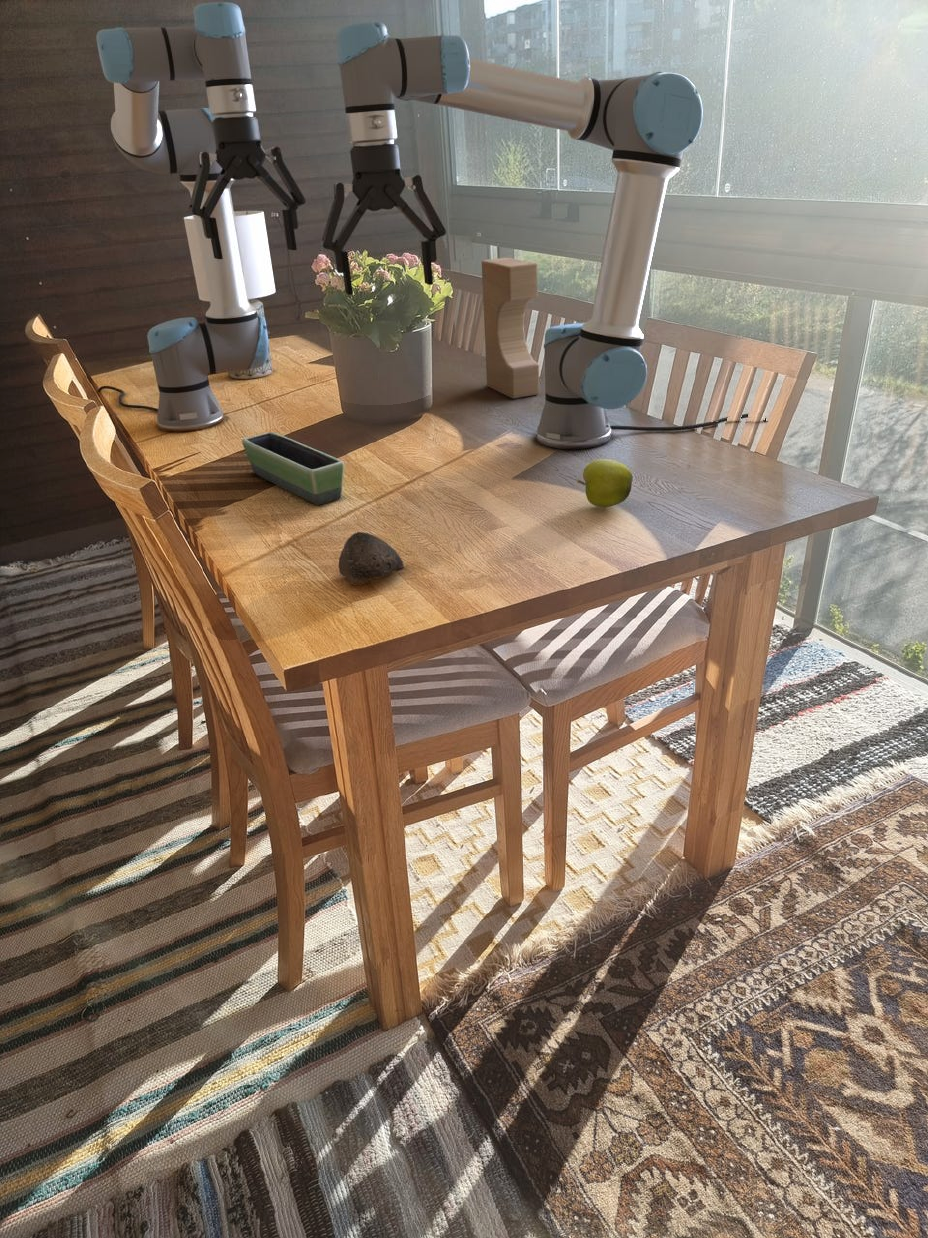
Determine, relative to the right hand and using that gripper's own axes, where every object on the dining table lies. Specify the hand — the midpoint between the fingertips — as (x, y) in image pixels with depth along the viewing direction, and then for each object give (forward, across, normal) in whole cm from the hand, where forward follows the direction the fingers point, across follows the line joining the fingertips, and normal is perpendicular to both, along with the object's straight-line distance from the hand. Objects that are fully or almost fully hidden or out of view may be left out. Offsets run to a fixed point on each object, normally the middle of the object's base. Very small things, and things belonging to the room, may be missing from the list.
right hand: (389, 288), depth 147 cm
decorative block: (+36, +40, +56) cm, 78 cm away
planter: (+35, -20, +11) cm, 42 cm away
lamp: (+35, -21, +110) cm, 117 cm away
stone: (+35, -14, -34) cm, 51 cm away
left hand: (-6, -19, +20) cm, 28 cm away
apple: (+36, +28, -23) cm, 51 cm away
